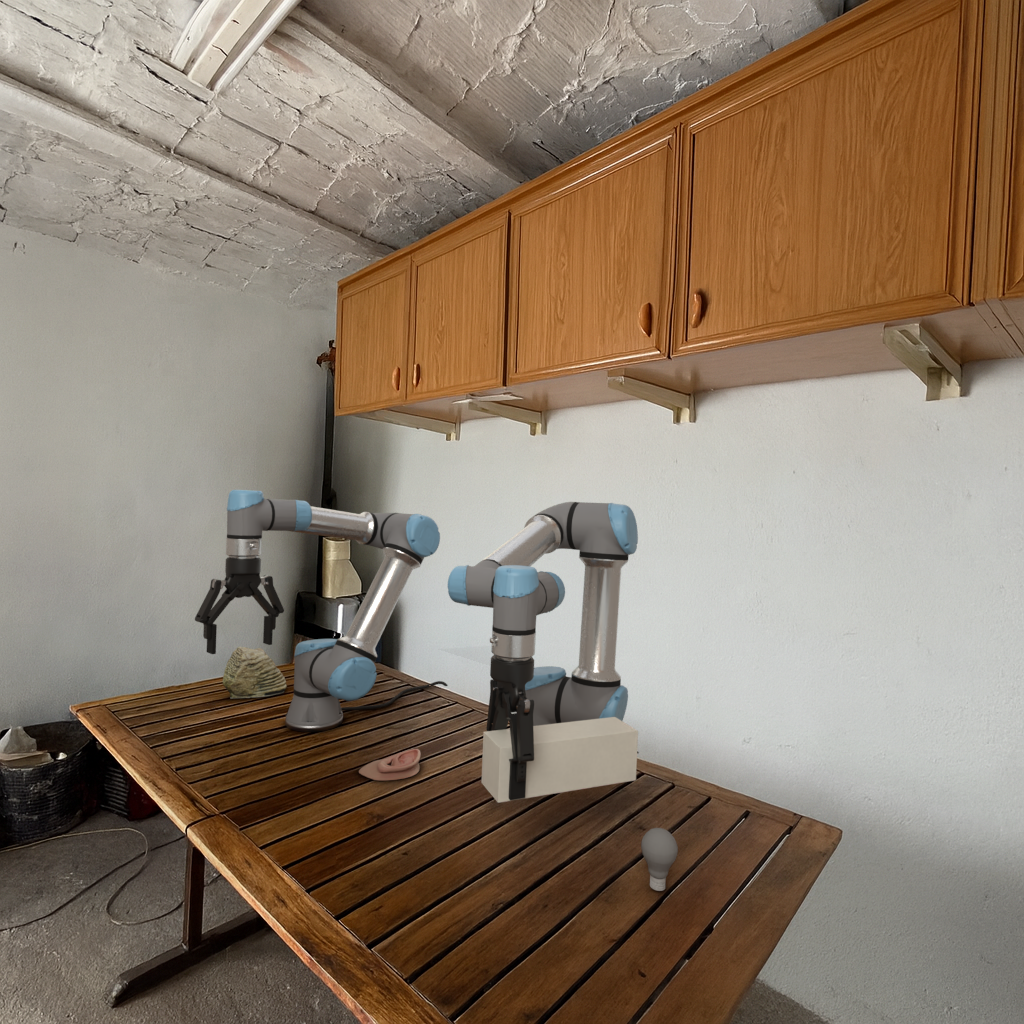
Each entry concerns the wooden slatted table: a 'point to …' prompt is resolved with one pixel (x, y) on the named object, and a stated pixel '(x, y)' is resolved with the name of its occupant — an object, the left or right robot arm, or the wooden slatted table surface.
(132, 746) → the wooden slatted table surface
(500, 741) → the box
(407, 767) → the anatomical model
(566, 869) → the wooden slatted table surface
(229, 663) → the fossil
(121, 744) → the wooden slatted table surface
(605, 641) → the right robot arm
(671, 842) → the light bulb
